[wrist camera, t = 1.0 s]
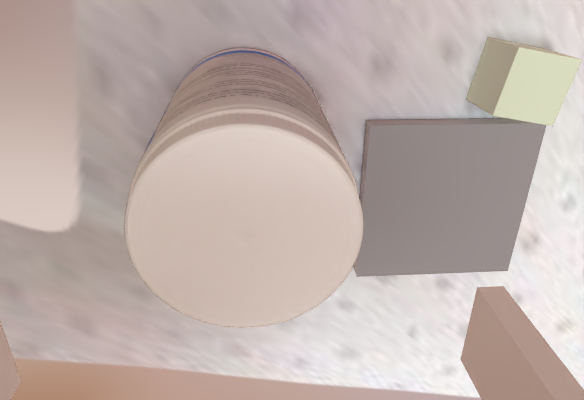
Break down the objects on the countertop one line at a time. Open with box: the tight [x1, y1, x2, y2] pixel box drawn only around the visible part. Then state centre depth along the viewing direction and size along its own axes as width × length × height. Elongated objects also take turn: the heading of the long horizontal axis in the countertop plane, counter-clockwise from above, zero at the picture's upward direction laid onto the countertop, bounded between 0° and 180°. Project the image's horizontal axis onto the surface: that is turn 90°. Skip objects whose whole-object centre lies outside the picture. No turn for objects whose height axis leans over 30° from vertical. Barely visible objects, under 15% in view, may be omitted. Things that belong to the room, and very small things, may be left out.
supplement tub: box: [124, 48, 363, 328], centre depth 24 cm, size 10×10×15 cm
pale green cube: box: [466, 37, 582, 126], centre depth 29 cm, size 4×4×4 cm
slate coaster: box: [354, 118, 546, 277], centre depth 34 cm, size 12×12×1 cm
